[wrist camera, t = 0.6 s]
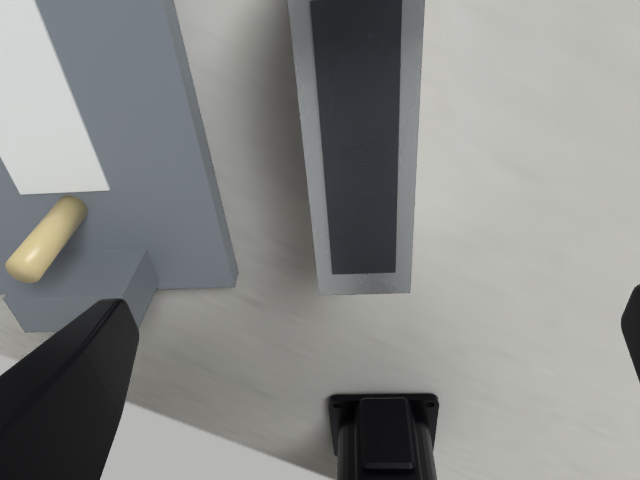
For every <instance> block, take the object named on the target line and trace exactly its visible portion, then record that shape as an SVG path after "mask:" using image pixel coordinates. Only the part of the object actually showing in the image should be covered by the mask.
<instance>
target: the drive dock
mask: <svg viewBox="0 0 640 480" xmlns="http://www.w3.org/2000/svg"><path fill="white" fill-rule="evenodd" d="M237 276H238V269H237V265H236V261H235V257H234V252H233V248H232V244H231V240H230V236H229V231H228V227H227V223H226V219H225V215H224V211H223V206H222V202H221V198H220V194H219V190H218V185H217V181H216V177H215V173H214V169H213V165H212V160H211V156H210V152H209V148H208V144H207V139H206V135H205V131H204V127H203V123H202V119H201V114H200V110H199V106H198V102H197V98H196V93H195V89H194V85H193V81H192V77H191V73H190V68H189V64H188V60H187V56H186V52H185V47H184V43H183V39H182V35H181V31H180V27H179V22H178V18H177V14H176V10H175V6H174V1H173V0H0V294H7V295H6V296H5V297H4V299H3V300H4V301H5V303H6V304H7V306H8V307H9V309H10V310H11V312H12V313H13V315H14V316H15V318H16V319H17V321H18V322H19V324H20V325H21V327H22V328H23V330H24V331H25V332H58V331H59V330H61V329H62V328H63V327H65V326H66V325H67V324H68V323H70V322H71V321H72V320H74V319H75V318H76V317H78V316H79V315H80V314H81V313H83V312H84V311H85V310H87V309H88V308H89V307H91V306H92V305H93V304H94V303H96V302H97V301H99V300H101V299H105V298H121V299H124V300H125V301H126V302H127V304H128V306H129V308H130V311H131V313H132V315H133V317H134V320H135V322H136V324H137V326H138V329H139V327H140V324H141V322H142V320H143V318H144V315H145V313H146V311H147V309H148V306H149V304H150V302H151V300H152V297H153V295H154V293H155V291H156V289H186V288H220V287H235V284H236V280H237Z"/></svg>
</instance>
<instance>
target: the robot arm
mask: <svg viewBox="0 0 640 480" xmlns="http://www.w3.org/2000/svg"><path fill="white" fill-rule="evenodd" d="M621 329H622V333H623V335H624V338H625V341H626V344H627V347H628V350H629V353H630V356H631V359H632V361H633V364H634V367H635V370H636V373H637V376H638V379H639V382H640V284H639V285H637V286H636V287H635V288H634V290H633V292H632V294H631V296H630V299H629V301H628V303H627V306H626V308H625V310H624V313H623V315H622V318H621ZM138 342H139V330H138V326H137V324H136V322H135V320H134V317H133V315H132V313H131V311H130V308H129V306H128V304H127V302H126V301H125V300H124V299H121V298H105V299H101V300H99V301H97V302H96V303H94V304H93V305H92V306H91V307H89V308H88V309H87V310H85V311H84V312H83V313H81V314H80V315H79V316H78V317H76V318H75V319H74V320H72V321H71V322H70V323H68V324H67V325H66V326H65V327H63V328H62V329H61V330H59V331H58V332H57V333H55V334H54V335H53V336H51V337H50V338H49V339H48V340H46V341H45V342H44V343H42V344H41V345H40V346H38V347H37V348H36V349H35V350H33V351H32V352H31V353H29V354H28V355H27V356H25V357H24V358H23V359H22V360H20V361H19V362H18V363H16V364H15V365H14V366H12V367H11V368H10V369H9V370H7V371H6V372H5V373H3V374H2V375H1V376H0V480H100V477H101V475H102V472H103V469H104V466H105V463H106V460H107V457H108V454H109V451H110V448H111V445H112V442H113V440H114V437H115V434H116V431H117V428H118V425H119V422H120V419H121V415H122V412H123V407H124V404H125V399H126V395H127V391H128V386H129V382H130V377H131V373H132V368H133V364H134V360H135V355H136V351H137V346H138ZM438 409H439V402H438V397H437V396H436V395H434V394H379V395H333V396H331V397H330V398H329V412H330V421H331V429H332V438H333V447H334V454H335V456H337V457H338V474H337V480H437V475H436V469H435V462H434V456H433V449H434V441H435V433H436V425H437V417H438Z"/></svg>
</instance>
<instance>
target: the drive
mask: <svg viewBox="0 0 640 480" xmlns="http://www.w3.org/2000/svg"><path fill="white" fill-rule="evenodd" d="M287 1H288V10H289V20H290V29H291V38H292V47H293V57H294V66H295V75H296V85H297V94H298V103H299V112H300V122H301V131H302V140H303V150H304V159H305V168H306V177H307V187H308V196H309V205H310V214H311V224H312V233H313V242H314V252H315V261H316V270H317V279H318V289H319V296H320V295H356V294H392V293H410V287H411V267H412V247H413V227H414V207H415V187H416V167H417V147H418V127H419V107H420V87H421V67H422V47H423V27H424V7H425V0H287Z"/></svg>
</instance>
